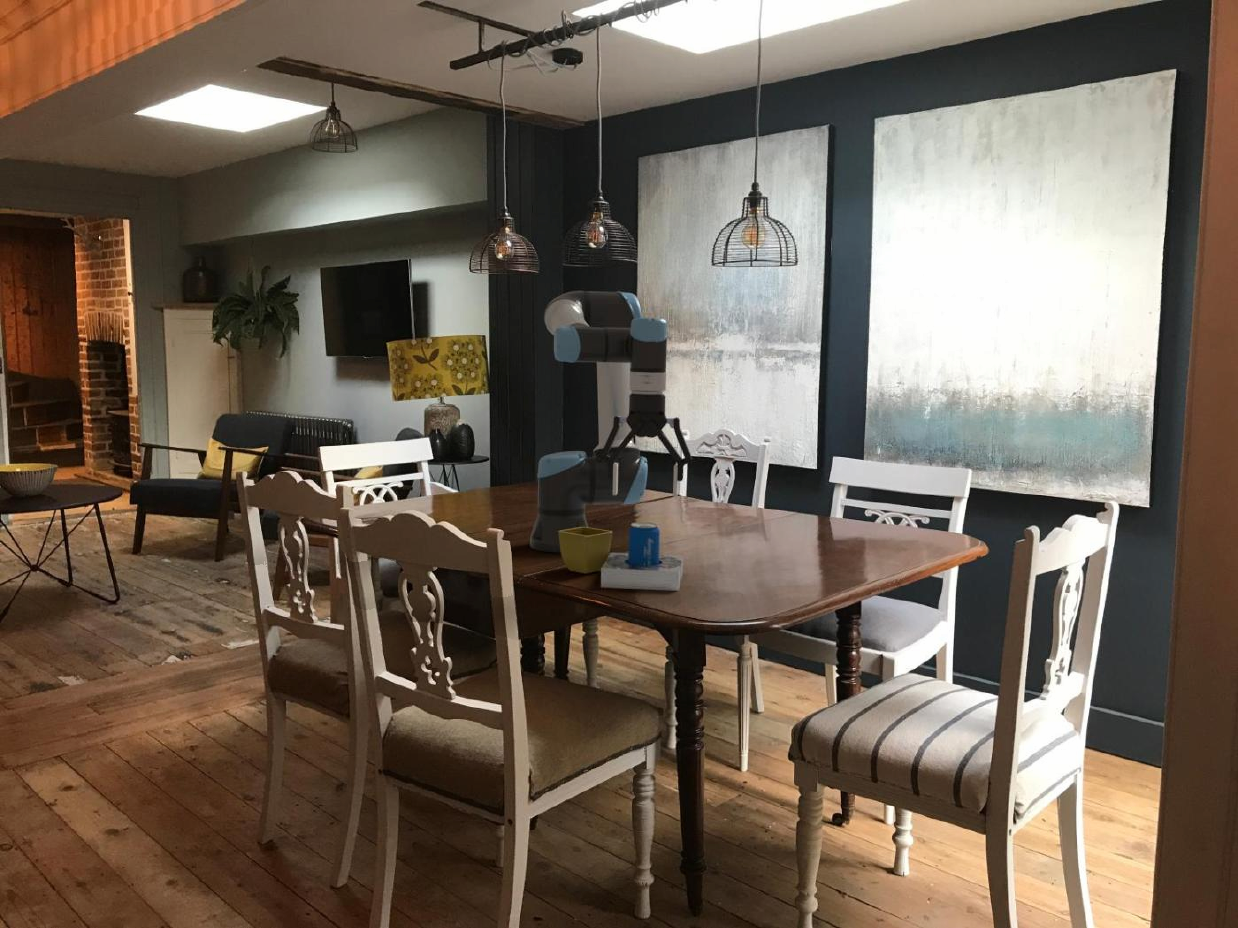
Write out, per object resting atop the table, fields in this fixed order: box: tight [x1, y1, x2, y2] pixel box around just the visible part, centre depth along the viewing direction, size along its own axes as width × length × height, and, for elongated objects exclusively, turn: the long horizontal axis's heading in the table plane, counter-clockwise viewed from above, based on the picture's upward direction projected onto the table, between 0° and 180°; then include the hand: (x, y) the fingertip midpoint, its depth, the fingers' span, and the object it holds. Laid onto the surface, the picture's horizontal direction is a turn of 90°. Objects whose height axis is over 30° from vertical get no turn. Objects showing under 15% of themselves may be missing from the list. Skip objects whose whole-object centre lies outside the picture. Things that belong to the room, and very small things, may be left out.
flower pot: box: [558, 526, 614, 575], centre depth 220 cm, size 9×9×9 cm
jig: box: [600, 552, 684, 592], centre depth 212 cm, size 16×16×4 cm
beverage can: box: [628, 522, 661, 566], centre depth 212 cm, size 6×6×12 cm
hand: (645, 495), depth 210 cm, fingers open, 12 cm apart
